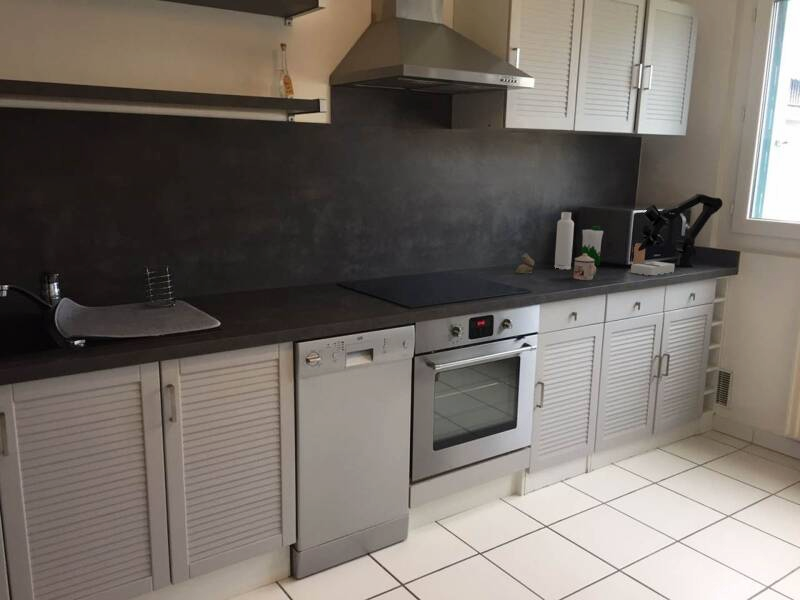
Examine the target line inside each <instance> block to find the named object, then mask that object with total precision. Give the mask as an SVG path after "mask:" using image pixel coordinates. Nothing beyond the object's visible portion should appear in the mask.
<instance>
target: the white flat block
mask: <svg viewBox="0 0 800 600" xmlns="http://www.w3.org/2000/svg"><path fill="white" fill-rule="evenodd" d="M675 264H676V263H669V262H662V261H647V262H645V261H644V263H640V262H639V264H632V265H631V264H630V265H631V266H630V273H632V274H636V273H637V274H638V275H642V274H644V275H643V276H648V275H654V276H659V275H658V274H660V275H665V274H664V273H666V274H671V273H670V272H672V273H674V272H675V266H676V265H675ZM637 274H636V275H637Z"/></svg>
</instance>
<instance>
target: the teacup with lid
mask: <svg viewBox="0 0 800 600" xmlns="http://www.w3.org/2000/svg"><path fill="white" fill-rule="evenodd" d="M594 262H595V260H594V259H592V258H590V257H589V256H587V254H585V253H584V254H583V256H582V255H580V256H578V257H575V258H574V264H573V265H574V267H573V279H575V280H578V279H579V280H580V281H591V280H593V279H594V275H595V274H596V272H597V267H596V266H595V265H594Z"/></svg>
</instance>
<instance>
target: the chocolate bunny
mask: <svg viewBox="0 0 800 600" xmlns="http://www.w3.org/2000/svg"><path fill="white" fill-rule="evenodd" d="M521 259H522V260H523V263H522V264H520V265H518V267H517V269H516V271H515V273H516V272H517V273H516V274H518V273H532V274H533V272H532V271H533V270H534V266H535V261H534V259H532V258H531V257H530V256H529V254H528V253H526V252H525V253H524V254H523V255H521Z"/></svg>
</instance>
